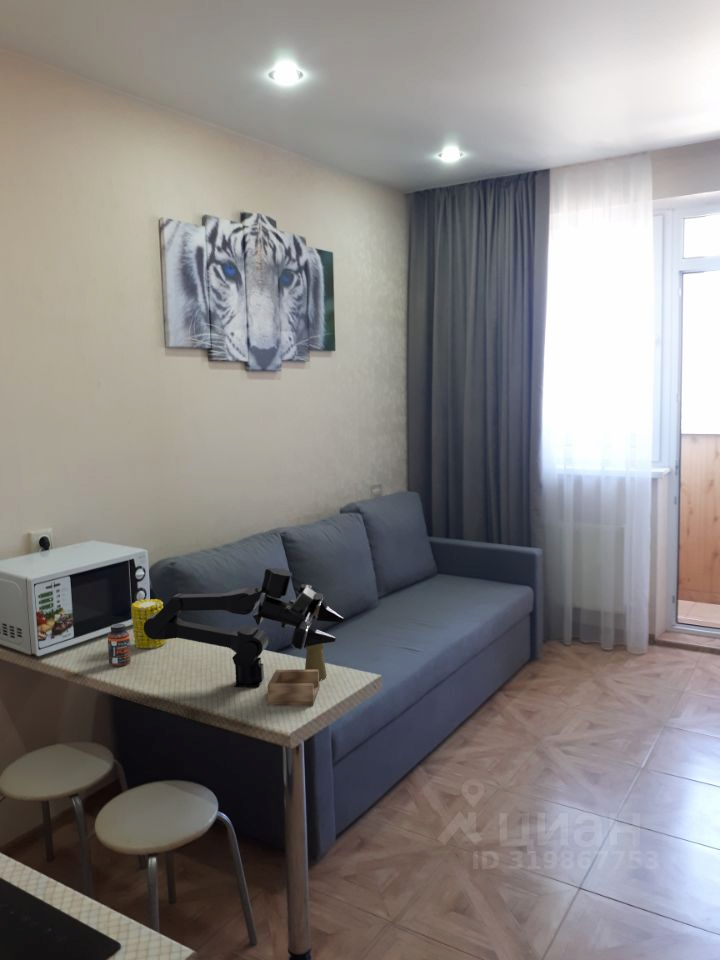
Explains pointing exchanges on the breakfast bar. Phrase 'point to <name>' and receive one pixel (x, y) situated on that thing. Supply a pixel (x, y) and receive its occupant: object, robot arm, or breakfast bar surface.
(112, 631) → the supplement bottle
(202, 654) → the breakfast bar surface
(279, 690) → the wooden box
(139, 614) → the food
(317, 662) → the cork
